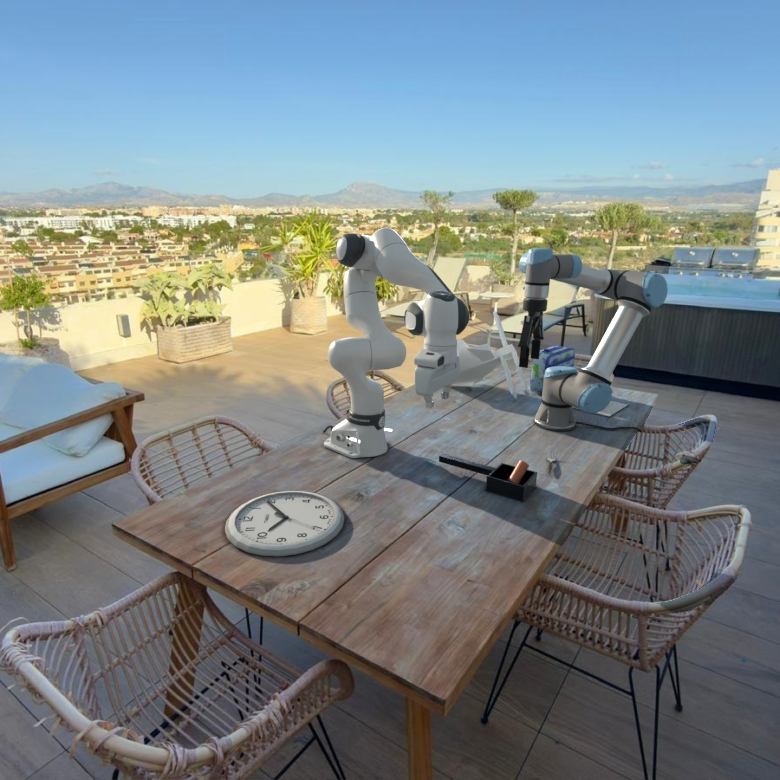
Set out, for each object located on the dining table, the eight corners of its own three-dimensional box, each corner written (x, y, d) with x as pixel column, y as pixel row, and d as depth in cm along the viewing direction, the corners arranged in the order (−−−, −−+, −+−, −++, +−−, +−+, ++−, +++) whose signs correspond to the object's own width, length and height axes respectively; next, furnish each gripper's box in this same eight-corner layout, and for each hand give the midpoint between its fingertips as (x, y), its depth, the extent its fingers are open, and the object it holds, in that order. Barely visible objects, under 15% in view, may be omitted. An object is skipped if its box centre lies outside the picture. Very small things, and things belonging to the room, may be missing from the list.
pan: (535, 486, 155) (537, 472, 154) (522, 501, 146) (524, 486, 145) (448, 461, 171) (449, 448, 169) (431, 474, 162) (432, 460, 160)
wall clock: (344, 547, 121) (211, 552, 118) (344, 554, 121) (212, 558, 119) (344, 486, 149) (237, 489, 147) (344, 491, 150) (237, 494, 147)
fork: (544, 474, 162) (545, 469, 162) (548, 455, 177) (548, 449, 176) (553, 476, 161) (554, 470, 161) (556, 456, 176) (557, 450, 175)
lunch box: (546, 399, 235) (551, 353, 228) (525, 393, 242) (530, 349, 236) (574, 387, 252) (579, 345, 246) (553, 383, 260) (558, 341, 253)
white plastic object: (461, 429, 252) (437, 405, 227) (444, 352, 274) (420, 323, 250) (535, 404, 240) (518, 377, 215) (510, 326, 262) (492, 293, 237)
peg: (507, 481, 155) (519, 461, 157) (517, 487, 154) (529, 467, 156) (507, 479, 153) (519, 459, 154) (517, 484, 151) (529, 464, 153)
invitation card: (608, 416, 214) (573, 407, 224) (608, 416, 214) (573, 408, 224) (628, 404, 229) (594, 396, 238) (628, 405, 229) (594, 397, 238)
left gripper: (446, 345, 149) (443, 391, 153) (410, 359, 132) (409, 410, 137) (466, 348, 146) (463, 395, 150) (433, 363, 129) (430, 415, 133)
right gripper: (534, 293, 179) (528, 353, 185) (512, 301, 158) (506, 369, 164) (556, 295, 175) (549, 356, 182) (537, 303, 155) (530, 372, 161)
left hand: (437, 402), depth 143 cm, fingers open, 8 cm apart
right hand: (529, 362), depth 173 cm, fingers open, 13 cm apart
